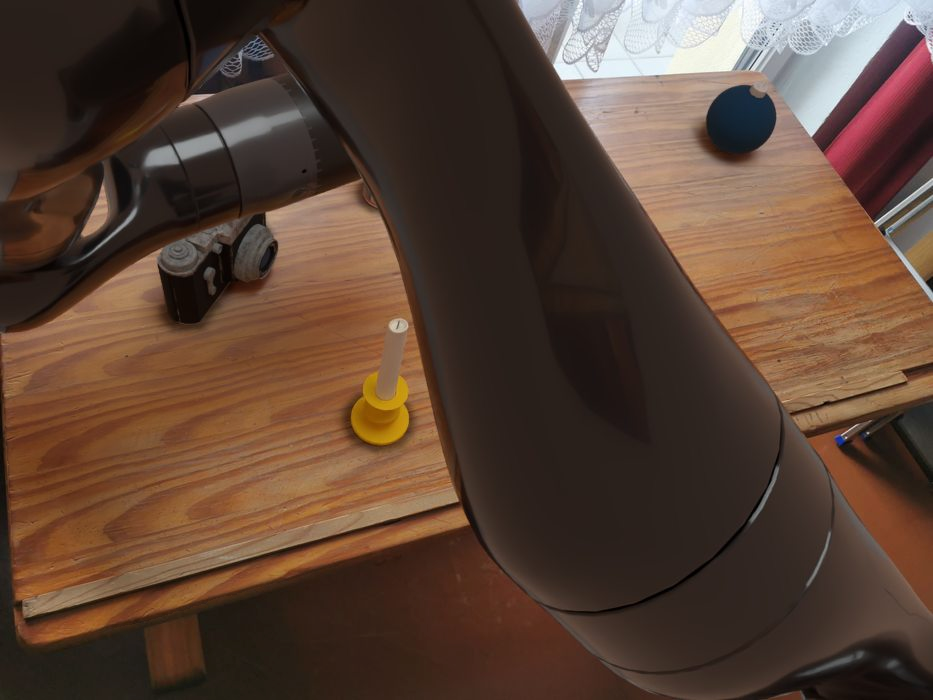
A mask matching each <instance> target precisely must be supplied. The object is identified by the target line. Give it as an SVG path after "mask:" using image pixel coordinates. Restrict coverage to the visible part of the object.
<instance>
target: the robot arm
mask: <svg viewBox="0 0 933 700" xmlns="http://www.w3.org/2000/svg"><path fill="white" fill-rule="evenodd" d="M257 37H258V38H259V39H260V41H261V42H262V43H263V44H264V45H265V47H266V48H267V49H268V50H269V51H270V52H271V54H272V55H273V56H274V57H275V58H276V59H277V60H278V61H279V62H280V63H281V65H282V66H283V67H284V68H285V70H286V72H284V73H280V74H277V75H274V76H273V75H272V76H270V77H266V78H262V79H258V80H255V81H251V82H247V83H244V84H240V85H237V86H236V85H235V86H233V87H230V88H226V89H224V90H221V91H220V92H216V93H215V94H212V95H210V96H207V97H206V98H203V99H200V100H198V101H195V102H192V103H190V104H189V103H187V104H185V105H182V106H181V104H183V103H185V102H186V101H187V100H189V99H190V98H191V97H192V96H193V95H194V94H195V93H196V92H197V91H198V90H200V88H202V87H203V86H204V85H205V84H206V83H207V82H208V81H210V79H212V78H213V77H214V76H215V75H216V74H217V73H218V72H219V71H220V70H221V69H222V68H224V67H225V66H226V65H227V64H228V63H229V62H230V61H231V60H232V59H234V58H235V57H236V56H237V55H238V54H239V53H240V52H241V51H242V50H244V49H245V47H247V45H249V44H250V43H251V42H252V41H253V40H254V39H255V38H257ZM360 180H362V182H363V183H365V185H366V187H367V188H368V190H369V192H370V194H371V196H372V198H373V200H374V202H375V204H376V206H377V208H376V209H377V211H378V213H379V215H380V218H381V220H382V223H383V225H384V227H385V229H386V233H387V234H388V238H389V241H390V243H391V246H392V250H393V253H394V255H395V259H396V261H397V264H398V268H399V271H400V275H401V279H402V283H403V286H404V291H405V294H406V299H407V302H408V303H407V304H408V306H409V310H410V314H411V320H412V324H413V325H412V326H413V329H414V333H415V337H416V343H417V347H418V352H419V356H420V361H421V366H422V370H423V375H424V380H425V383H426V388H427V391H428V396H429V401H430V405H431V410H432V414H433V419H434V423H435V427H436V432H437V434H438V438H439V443H440V446H441V450H442V453H443V457H444V461H445V465H446V468H447V472H448V475H449V478H450V480H451V484H452V487H453V490H454V492H455V494H456V497H457V500H458V502H459V505H460V508H461V510H462V511H463V513H464V515H465V518H466V519H467V522H468V524H469V525H470V527H471V529H472V531H473V534H474V535H475V537H476V539H477V541H478V543H479V545H480V546H481V548H482V549H483V550H484V552H485V553H486V555H488V557H489V558H490V560H492V561H493V562H494V563H495V565H496V566H497V567H498V568H499V569H500V570H501V571H502V572H503V573H504V574H505V575H506V576H507V578H508V579H510V580H511V581H512V582H513V583H514V584H515V585H516V586H517V587H518V589H520V590H521V591H522V592H523V593H525V595H527V596H528V597H529V598H530V599H532V600H533V602H535V603H536V604H537V605H538V606H539V607H540V608H541V609H542V610H543V611H544V612H546V614H548V615H549V616H550V617H551V618H552V619H553V620H555V621H556V622H557V623H558V624H559V625H560V626H561V627H562V628H563V629H565V631H567V632H568V633H569V634H570V635H571V636H572V637H573V638H574V639H575V640H576V641H577V642H579V644H580V645H582V646H583V647H584V648H585V649H586V650H587V651H588V652H589V653H591V655H593V656H594V657H595V658H596V659H598V661H600V662H601V663H602V664H603V665H605V666H606V667H607V668H608V669H609V670H611V671H612V672H613V673H614V674H616V675H617V676H619V677H620V678H622V679H623V680H625V681H627V682H629V683H630V684H632V685H633V686H635V687H636V688H640V689H642V690H644V691H646V692H648V693H651V694H655V695H657V696H660V697H663V698H664V697H665V698H669V699H673V700H767V699H769V700H770V699H773V698H778V697H783V696H787V695H790V694H793V693H797V692H799V695H800V698H801V700H933V613H932V612H931V610H930V609H928V608H927V606H926V604H925V603H924V602H923V601H922V600H921V599H920V597H919V596H918V595H917V593H916V592H915V590H914V589H913V588H912V586H911V585H910V583H909V582H908V580H907V579H906V577H905V576H904V575H903V574H902V573H901V571H900V570H899V569H898V567H897V566H896V565H895V563H894V562H893V560H892V559H891V558H890V557H889V555H888V553H886V551H885V550H884V548H883V547H882V546H881V545H880V543H879V542H878V541H877V539H876V538H875V537H874V535H873V534H872V533H871V532H870V531H869V529H868V527H867V526H866V525H865V524H864V522H863V521H862V519H861V518H860V516H859V515H858V514H857V513H856V511H855V510H854V508H853V507H852V506H851V503H849V501H848V499H847V497H846V496H845V494H844V493H843V491H842V490H841V488H840V486H839V485H838V483H837V481H836V479H835V478H834V476H833V475H832V474H831V472H830V470H829V468H828V467H827V464H826V463H825V461H824V460H823V459H822V457H821V456H820V454H819V453H818V451H817V450H816V449H815V448H814V446H813V445H812V444H811V442H810V441H809V439H808V438H807V436H806V435H805V434H804V432H803V430H802V429H801V428H800V427H799V425H798V424H797V422H796V420H795V419H794V418H793V416H792V415H791V414H790V412H789V410H788V409H787V408H786V407H785V405H784V403H783V402H782V401H781V400H780V398H779V397H778V395H777V394H776V393H775V391H774V389H773V388H772V386H771V384H770V383H769V381H768V380H767V379H766V378H765V376H764V375H763V373H762V372H761V371H760V370H759V369H758V367H757V366H756V365H755V363H754V362H753V361H752V360H751V358H750V357H749V356H748V355H747V353H746V352H745V351H744V350H743V348H742V347H741V346H740V345H739V344H738V342H737V340H736V339H734V337H733V336H732V335H731V333H730V331H728V329H727V328H726V326H725V325H724V324H723V323H722V321H721V320H720V318H719V317H718V316H717V315H716V313H715V312H714V310H713V309H712V308H711V306H710V305H709V304H708V302H707V301H706V299H705V298H704V297H703V295H702V294H701V292H700V290H699V289H698V288H697V287H696V285H695V283H694V282H693V281H692V279H691V278H690V276H689V274H688V273H687V272H686V270H685V269H684V267H683V266H682V265H681V263H680V261H679V260H678V258H677V257H676V255H675V254H674V252H673V251H672V250H671V248H670V246H669V245H668V243H667V241H666V240H665V238H664V237H663V235H662V233H661V232H660V230H659V229H658V227H657V226H656V224H655V223H654V222H653V220H652V218H651V217H650V215H649V213H648V212H647V211H646V209H645V207H644V206H643V204H642V203H641V202H640V200H639V199H638V197H637V195H636V194H635V193H634V191H633V189H632V188H631V187H630V185H629V183H628V182H627V181H626V179H625V177H624V176H623V175H622V173H621V172H620V170H619V168H618V167H617V165H616V164H615V162H614V160H613V159H612V158H611V156H610V155H609V154H608V152H607V150H606V149H605V147H604V146H603V145H602V143H601V141H600V140H599V138H598V136H597V135H596V133H595V132H594V130H593V128H592V127H591V125H590V124H589V122H588V121H587V119H586V118H585V116H584V114H583V113H582V111H581V110H580V108H579V107H578V104H577V103H576V102H575V100H574V98H573V97H572V95H571V93H570V92H569V90H568V88H567V87H566V85H565V83H564V82H563V80H562V78H561V76H560V74H559V73H558V72H557V70H556V68H555V67H554V64H553V63H552V61H551V60H550V58H549V56H548V54H547V52H546V51H545V49H544V47H543V46H542V44H541V42H540V40H539V39H538V37H537V35H536V34H535V32H534V30H533V28H532V27H531V25H530V23H529V21H528V20H527V18H526V16H525V14H524V12H523V10H522V9H521V7H520V5H519V4H518V3H517V2H516V0H0V334H18V333H23V332H29V331H32V330H35V329H38V328H41V327H43V326H45V325H47V324H49V323H51V322H53V321H55V320H56V319H58V318H60V317H61V316H62V315H64V314H65V313H67V312H68V311H70V310H71V309H73V308H74V307H76V306H77V305H78V304H80V303H81V302H82V301H83V300H85V299H86V298H87V297H89V296H90V295H91V294H93V293H94V292H96V291H97V290H98V289H99V288H101V287H102V286H103V285H104V284H106V283H108V282H109V281H111V279H113V278H115V277H116V276H118V275H119V274H120V273H122V272H124V271H125V270H126V269H128V268H129V267H131V266H133V265H135V264H136V263H137V262H139V261H141V260H143V259H144V258H146V257H148V256H149V255H151V254H153V253H155V252H157V251H160V250H162V249H163V247H165V246H167V245H169V244H171V243H174V242H176V241H179V240H181V239H184V238H186V237H189V236H191V235H194V234H196V233H199V232H202V231H205V230H208V229H210V228H213V227H216V226H219V225H222V224H224V223H227V222H230V221H233V220H236V219H239V218H243V217H246V216H251V215H256V214H261V213H265V212H266V213H269V212H274V211H277V210H279V209H282V208H286V207H288V206H290V205H294V204H296V203H299V202H301V201H305V200H308V199H310V198H312V197H315V196H318V195H321V194H324V193H327V192H329V191H332V190H335V189H337V188H341V187H343V186H346V185H349V184H351V183H354V182H358V181H360ZM102 186H103V188H104V193H105V198H106V206H107V213H106V214H107V215H106V219H105V221H104V222H103V224H102V225H101V226H100V227H99V228H98V229H96V230H94V231H93V232H91V233H89V234H87V235H83V234H82V233H83V232H84V230H85V228H86V226H87V224H88V222H89V220H90V218H91V216H92V214H93V211H94V210H95V207H96V205H97V203H98V201H99V199H100V194H101V190H102Z"/></svg>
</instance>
